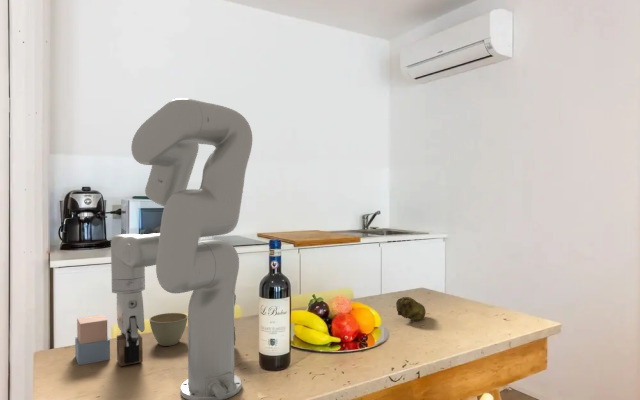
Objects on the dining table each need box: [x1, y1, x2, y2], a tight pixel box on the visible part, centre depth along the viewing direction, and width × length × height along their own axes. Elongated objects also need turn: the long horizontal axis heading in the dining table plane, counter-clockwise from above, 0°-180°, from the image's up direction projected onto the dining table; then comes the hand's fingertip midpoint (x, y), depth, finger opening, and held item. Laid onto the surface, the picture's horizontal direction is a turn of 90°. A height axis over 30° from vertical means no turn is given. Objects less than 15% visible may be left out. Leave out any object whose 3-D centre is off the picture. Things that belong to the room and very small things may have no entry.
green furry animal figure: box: [395, 296, 426, 322], centre depth 147 cm, size 8×13×8 cm, turn 119°
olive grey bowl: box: [149, 312, 188, 347], centre depth 124 cm, size 10×10×7 cm
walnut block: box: [116, 331, 144, 367], centre depth 110 cm, size 5×5×6 cm
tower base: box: [74, 335, 111, 366], centre depth 113 cm, size 7×7×5 cm
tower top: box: [76, 314, 108, 344], centre depth 113 cm, size 6×6×5 cm
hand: (129, 357), depth 110 cm, fingers closed on walnut block, 5 cm apart
